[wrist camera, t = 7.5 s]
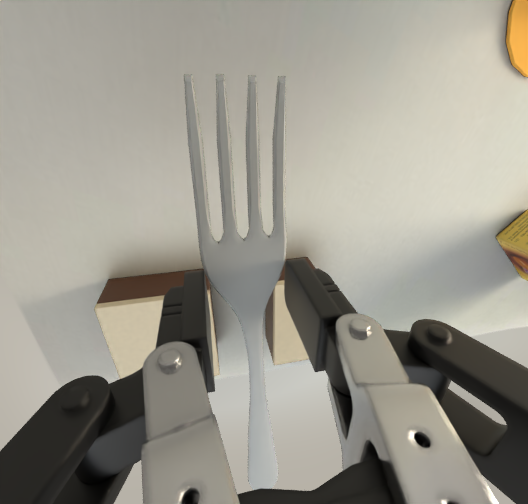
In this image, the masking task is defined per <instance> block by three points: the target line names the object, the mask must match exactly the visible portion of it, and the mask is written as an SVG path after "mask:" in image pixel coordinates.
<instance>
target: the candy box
mask: <svg viewBox="0 0 528 504" xmlns="http://www.w3.org/2000/svg"><path fill="white" fill-rule="evenodd" d="M496 239H497V240H498V242H499V244H500V245H501V247H502V248H503V250H504V251H505V253H506V254H507V256H508V257H509V259H510V260H511V262H512V263H513V265H514V266H515V268H516V270H517V271H518V273H519V274H520V276H521V277H522V278H523V279H525V280H527V281H528V210H526V211H525V212H524V213H522V214H521V215H520V216H519V217H518V218H517V219H516V220H514V221H513V222H512V223H511V224H510V225H509V226H507V227H506V228H505V229H504V230H503V231H502V232H500V233H499V234H498V235H497V236H496Z"/></svg>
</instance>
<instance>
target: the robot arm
mask: <svg viewBox="0 0 528 504" xmlns="http://www.w3.org/2000/svg"><path fill="white" fill-rule="evenodd" d="M284 296H285V302H286V306H287V309H288V311H289V313H290V316H291V318H292V320H293V322H294V325H295V327H296V329H297V332H298V334H299V336H300V339H301V341H302V343H303V345H304V348H305V350H306V352H307V355H308V357H309V359H310V362H311V364H312V366H313V368H314V371H315V372H318V371H324V370H325V371H326V373H327V375H328V377H329V378H328V392H329V396H330V400H331V404H332V409H333V413H334V417H335V422H336V426H337V430H338V434H339V439H340V443H341V449H342V462H343V463H342V464H343V471H342V472H341V473H339V474H338V475H336V476H335V477H333V478H332V479H330V480H329V481H327V482H326V483H324V484H323V485H321V486H320V487H319V488H317V489H315V490H312V491H297V490H281V489H264V488H260V489H257V490H253V491H249V492H245V493H241V494H237V492H236V489H235V486H234V482H233V478H232V474H231V471H230V467H229V463H228V460H227V456H226V453H225V450H224V446H223V442H222V438H221V435H220V431H219V427H218V424H217V420H216V418H215V415H214V414H213V412H212V409H211V405H210V402H209V398H208V392H214V391H215V384H214V368H213V352H212V337H211V321H210V309H209V301H208V294H207V286H206V279H205V272H204V270H199V271H191V272H185V273H184V286H176V287H171V288H170V289H169V291H168V292H167V293H166V295H165V296H164V300H163V308H162V312H161V318H160V324H159V330H158V336H157V342H156V348H155V349H154V350H153V351H152V352H151V353H150V354H149V355H148V356H147V358H146V359H145V361H144V364H143V367H142V368H141V369H139V370H138V371H136V372H135V373H133V374H131V375H129V376H126V377H124V378H122V379H119V380H117V381H115V382H113V383H110V384H108V382H107V381H106V380H105V379H104V378H102V377H100V376H93V375H92V376H84V377H81V378H77V379H75V380H73V381H71V382H69V383H67V384H65V385H64V386H62V387H61V388H60V389H59V390H57V391H56V392H55V393H54V394H53V395H52V396H51V397H50V398H49V399H48V400H47V401H46V402H45V403H44V404H43V406H42V407H41V408H40V409H39V410H38V411H37V412H36V413H35V414H34V415H33V416H32V417H31V419H30V420H29V421H28V422H27V423H26V424H25V425H24V426H23V427H22V428H21V429H20V431H18V433H17V434H16V435H15V436H14V437H13V438H12V439H11V440H10V441H9V442H8V443H7V445H6V446H5V447H4V448H3V449H2V450H1V451H0V504H113V503H114V502H115V500H116V498H117V496H118V494H119V492H120V490H121V488H122V486H123V485H124V483H125V481H126V479H127V477H128V475H129V473H130V471H131V469H132V467H133V465H134V464H135V463H137V462H138V461H140V460H141V461H142V486H143V487H142V488H143V504H498V502H497V500H496V499H495V497H494V495H493V494H492V492H491V490H490V488H489V487H488V485H487V483H486V482H485V480H484V478H483V477H482V475H483V476H484V477H485V478H486V479H487V480H489V481H490V482H491V483H492V484H493V485H495V486H496V487H497V488H498V489H499V490H500V491H502V492H503V493H504V494H505V495H506V496H508V497H509V498H510V499H511V500H513V502H515V503H516V504H528V368H526V367H524V366H522V365H521V364H519V363H517V362H515V361H513V360H511V359H510V358H508V357H506V356H504V355H502V354H500V353H499V352H497V351H495V350H493V349H491V348H489V347H488V346H486V345H484V344H482V343H480V342H479V341H477V340H475V339H473V338H471V337H469V336H468V335H466V334H464V333H462V332H460V331H458V330H457V329H455V328H453V327H451V326H449V325H447V324H445V323H443V322H440V321H436V320H431V319H422V320H418V321H416V322H415V323H413V325H412V327H411V331H410V332H405V331H394V330H385V329H383V328H382V327H381V325H380V324H379V323H378V322H377V321H375V320H374V319H372V318H370V317H368V316H366V315H362V314H358V313H357V312H356V310H355V309H354V308H353V307H352V305H351V304H350V303H349V301H348V300H347V299H346V297H345V296H344V295H343V293H342V292H341V291H340V290H339V288H338V287H337V285H336V284H335V283H334V281H333V280H332V279H331V277H330V276H329V275H328V274H326V273H325V272H323V271H322V270H320V269H312V268H311V267H310V265H309V264H308V262H307V261H306V259H305V258H301V259H293V260H286V262H285V278H284ZM451 380H452V381H453V382H454V383H456V384H457V385H459V386H461V387H462V388H463V389H465V390H466V391H468V392H469V393H471V394H472V395H474V396H475V397H477V398H478V399H480V400H481V401H482V402H484V403H485V404H487V405H488V406H490V407H491V408H493V409H494V410H496V411H497V412H498V413H499V414H500V415H501V416H502V417H503V418H504V420H505V421H506V424H507V425H501V424H499V423H496V422H495V421H493V420H492V419H490V418H489V417H488V416H486V415H485V414H483V413H482V412H481V411H479V410H478V409H476V408H475V407H473V406H472V405H471V404H469V403H468V402H466V401H465V400H464V399H462V398H461V397H459V396H458V395H456V394H455V393H454V392H452V391H451V390H449V389H448V387H449V384H450V382H451ZM481 474H482V475H481Z"/></svg>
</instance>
